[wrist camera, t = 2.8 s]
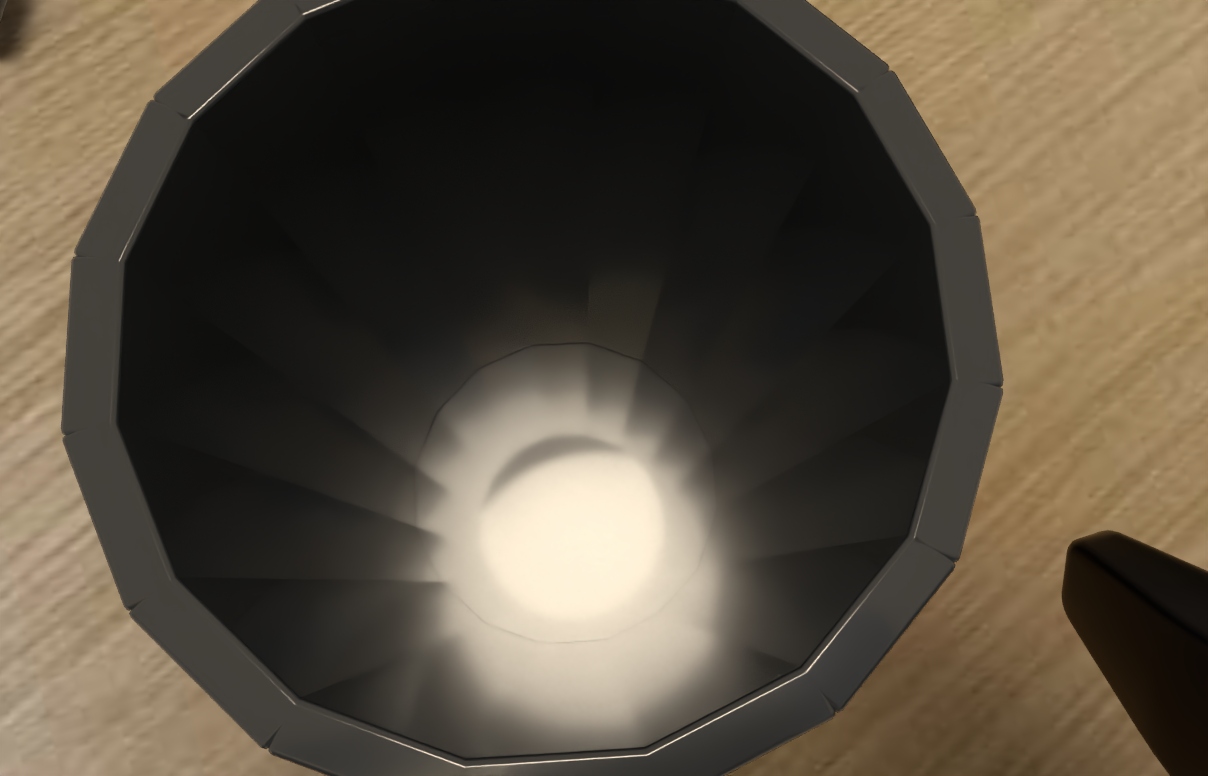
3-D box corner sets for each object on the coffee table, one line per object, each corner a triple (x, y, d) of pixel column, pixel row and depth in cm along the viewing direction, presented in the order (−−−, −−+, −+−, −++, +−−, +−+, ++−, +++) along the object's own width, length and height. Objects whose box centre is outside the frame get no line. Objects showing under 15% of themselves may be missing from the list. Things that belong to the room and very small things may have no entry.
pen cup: (784, 569, 19) (1177, 539, 7) (485, 719, 19) (272, 1014, 6) (639, 285, 20) (734, -202, 8) (353, 417, 20) (-63, 113, 7)
